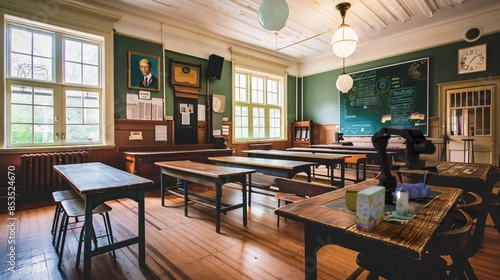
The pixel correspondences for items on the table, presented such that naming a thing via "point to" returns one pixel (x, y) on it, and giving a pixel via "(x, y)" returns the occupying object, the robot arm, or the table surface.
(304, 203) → the table surface
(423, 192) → the pencil case
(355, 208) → the flower pot
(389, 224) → the table surface
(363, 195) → the snack box
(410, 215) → the mat
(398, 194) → the bottle
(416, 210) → the walnut block
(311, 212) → the table surface
